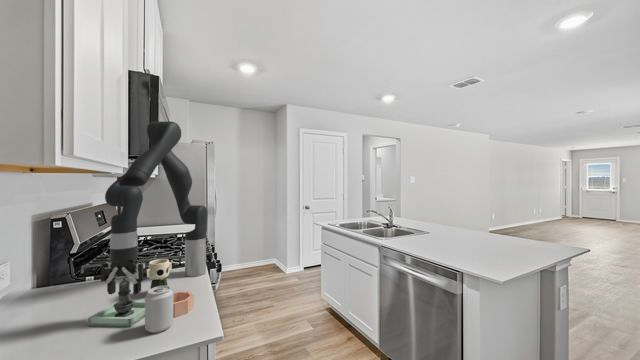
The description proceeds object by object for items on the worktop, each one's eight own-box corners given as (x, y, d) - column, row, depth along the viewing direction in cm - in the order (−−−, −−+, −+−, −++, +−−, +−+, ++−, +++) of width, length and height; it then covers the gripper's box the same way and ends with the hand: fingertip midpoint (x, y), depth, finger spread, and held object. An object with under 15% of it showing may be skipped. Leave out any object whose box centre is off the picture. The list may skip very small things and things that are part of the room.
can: (167, 318, 88) (167, 282, 88) (177, 326, 83) (177, 288, 83) (141, 328, 82) (141, 289, 82) (150, 337, 77) (150, 296, 77)
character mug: (151, 300, 101) (151, 266, 101) (139, 297, 104) (139, 264, 104) (177, 289, 111) (177, 258, 111) (165, 287, 114) (165, 256, 114)
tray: (118, 307, 96) (118, 300, 96) (156, 308, 95) (156, 301, 95) (87, 325, 84) (87, 318, 84) (131, 326, 83) (131, 319, 83)
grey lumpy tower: (116, 311, 91) (116, 276, 91) (136, 308, 93) (136, 273, 93) (111, 320, 85) (111, 282, 85) (133, 316, 88) (133, 279, 88)
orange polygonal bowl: (171, 303, 99) (171, 291, 99) (197, 303, 98) (197, 291, 98) (153, 317, 89) (153, 303, 89) (182, 317, 88) (182, 304, 88)
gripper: (152, 242, 93) (152, 289, 93) (112, 242, 93) (112, 288, 93) (136, 248, 85) (136, 299, 85) (93, 247, 86) (93, 298, 86)
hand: (124, 293), depth 89 cm, fingers open, 8 cm apart
